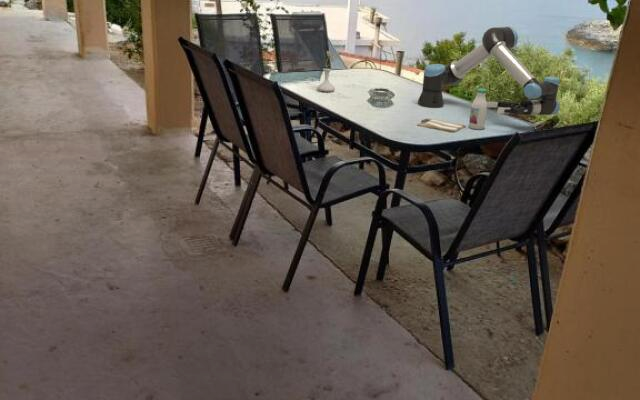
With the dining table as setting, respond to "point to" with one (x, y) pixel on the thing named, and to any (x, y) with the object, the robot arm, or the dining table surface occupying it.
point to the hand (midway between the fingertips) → (491, 107)
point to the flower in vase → (326, 85)
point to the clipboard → (441, 125)
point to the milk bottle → (478, 110)
